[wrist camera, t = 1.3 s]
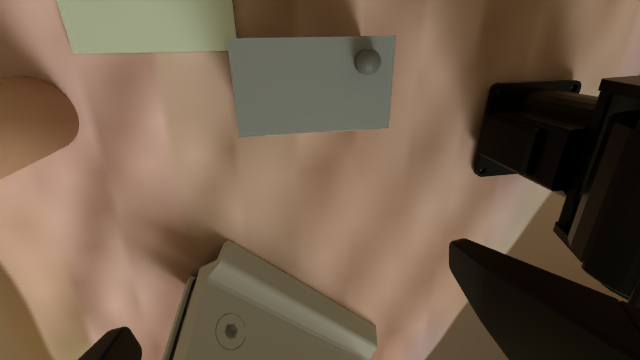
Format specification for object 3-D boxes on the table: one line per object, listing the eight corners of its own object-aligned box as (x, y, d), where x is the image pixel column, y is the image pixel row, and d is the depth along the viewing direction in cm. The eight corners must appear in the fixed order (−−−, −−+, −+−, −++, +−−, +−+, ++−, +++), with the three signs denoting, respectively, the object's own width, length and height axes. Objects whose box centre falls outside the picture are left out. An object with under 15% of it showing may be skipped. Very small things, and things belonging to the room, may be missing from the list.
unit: (361, 38, 17) (401, 35, 12) (359, 113, 19) (392, 137, 14) (237, 40, 16) (224, 37, 11) (246, 119, 18) (239, 147, 13)
